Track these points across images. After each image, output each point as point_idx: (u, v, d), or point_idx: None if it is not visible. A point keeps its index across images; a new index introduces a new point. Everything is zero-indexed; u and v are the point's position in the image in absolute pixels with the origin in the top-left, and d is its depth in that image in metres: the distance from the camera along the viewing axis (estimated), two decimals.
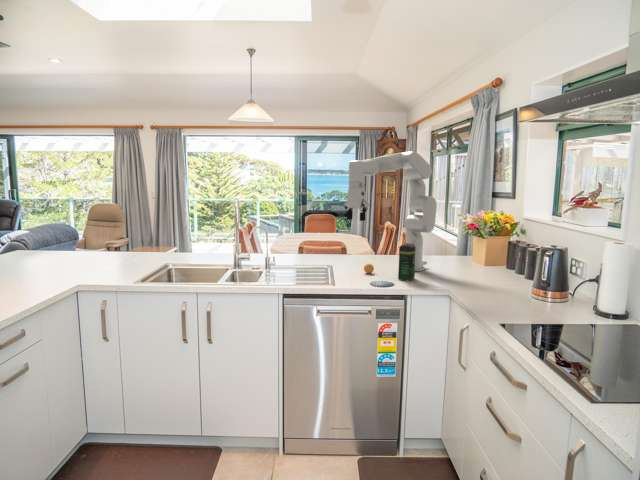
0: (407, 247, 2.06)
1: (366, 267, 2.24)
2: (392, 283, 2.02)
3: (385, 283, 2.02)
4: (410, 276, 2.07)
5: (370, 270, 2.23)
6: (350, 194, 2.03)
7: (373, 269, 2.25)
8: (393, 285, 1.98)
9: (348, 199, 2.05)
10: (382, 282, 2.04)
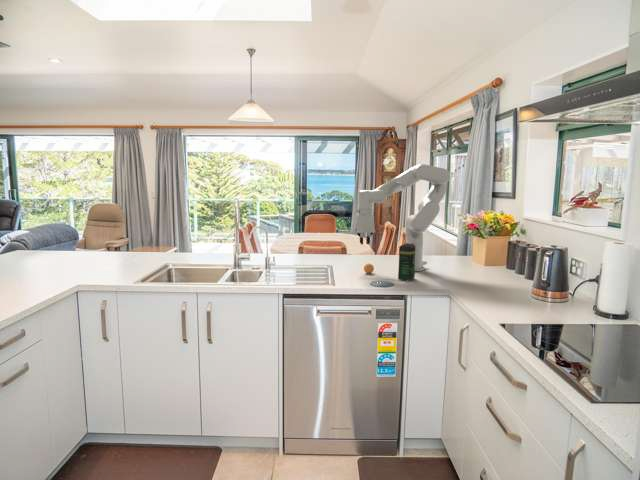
0: (407, 247, 2.06)
1: (366, 267, 2.24)
2: (392, 283, 2.02)
3: (385, 283, 2.02)
4: (410, 276, 2.07)
5: (370, 270, 2.23)
6: None
7: (373, 269, 2.25)
8: (393, 285, 1.98)
9: None
10: (382, 282, 2.04)
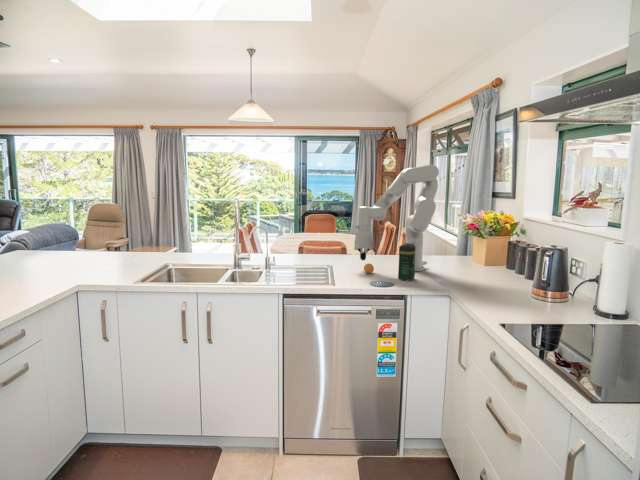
0: (407, 247, 2.06)
1: (366, 267, 2.24)
2: (392, 283, 2.02)
3: (385, 283, 2.02)
4: (410, 276, 2.07)
5: (370, 270, 2.23)
6: None
7: (373, 269, 2.25)
8: (393, 285, 1.98)
9: None
10: (382, 282, 2.04)
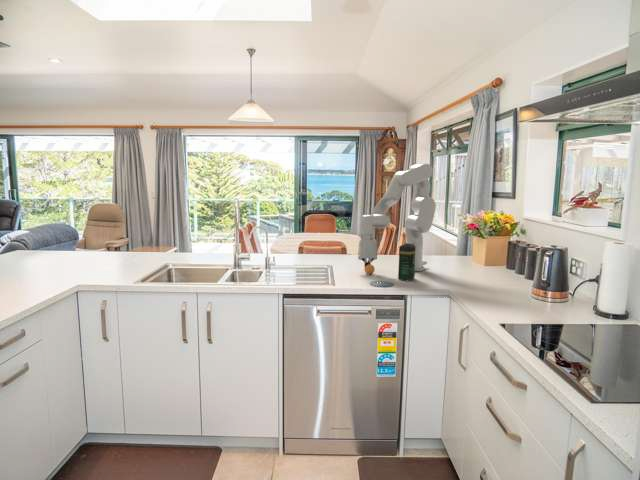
0: (407, 247, 2.06)
1: (367, 270, 2.21)
2: (392, 283, 2.02)
3: (385, 283, 2.02)
4: (410, 276, 2.07)
5: (371, 273, 2.22)
6: None
7: None
8: (393, 285, 1.98)
9: None
10: (382, 282, 2.04)
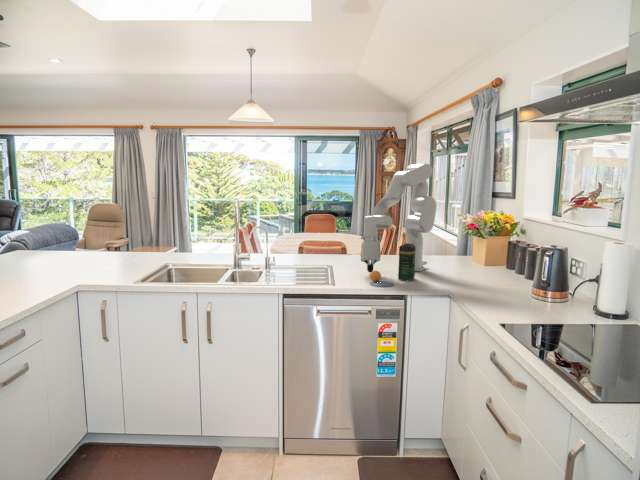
0: (407, 247, 2.06)
1: (373, 275, 2.05)
2: (392, 283, 2.02)
3: (385, 283, 2.02)
4: (410, 276, 2.07)
5: (377, 279, 2.05)
6: None
7: (380, 277, 2.06)
8: (393, 285, 1.98)
9: None
10: (382, 282, 2.04)
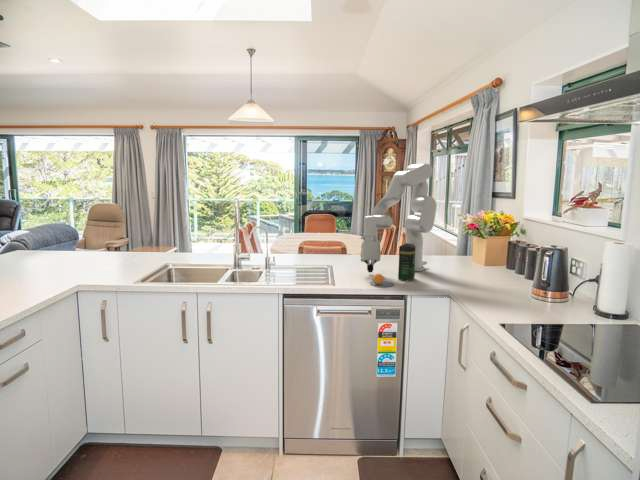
0: (407, 247, 2.06)
1: None
2: (392, 283, 2.02)
3: (385, 283, 2.02)
4: (410, 276, 2.07)
5: None
6: None
7: None
8: (393, 285, 1.98)
9: None
10: None
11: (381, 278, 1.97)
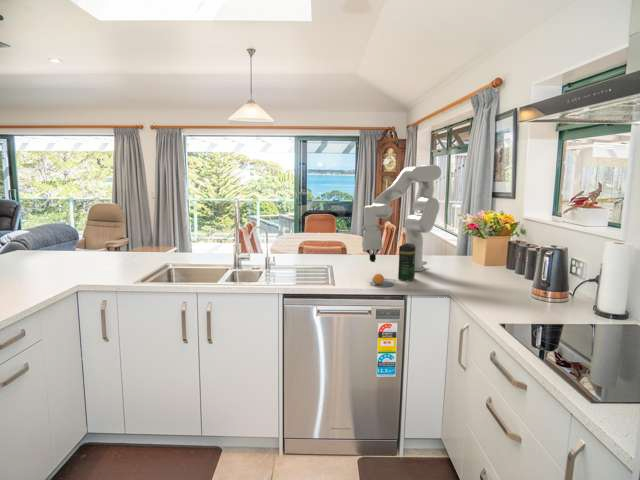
0: (407, 247, 2.06)
1: None
2: (392, 283, 2.02)
3: (385, 283, 2.02)
4: (410, 276, 2.07)
5: None
6: None
7: None
8: (393, 285, 1.98)
9: None
10: None
11: (381, 278, 1.97)
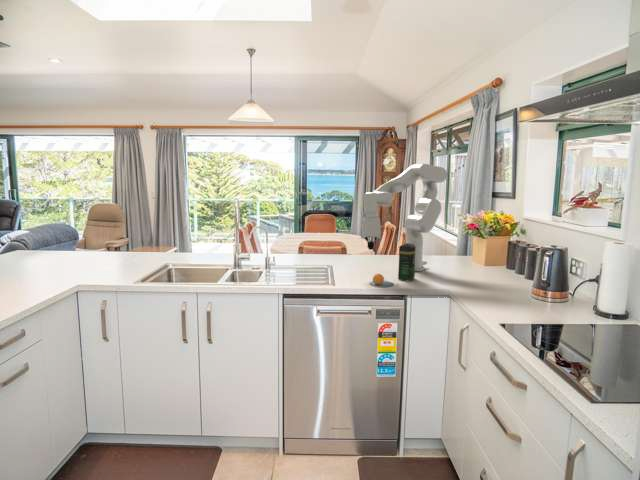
0: (407, 247, 2.06)
1: None
2: (392, 283, 2.02)
3: (385, 283, 2.02)
4: (410, 276, 2.07)
5: None
6: None
7: None
8: (393, 285, 1.98)
9: None
10: None
11: (381, 278, 1.97)
